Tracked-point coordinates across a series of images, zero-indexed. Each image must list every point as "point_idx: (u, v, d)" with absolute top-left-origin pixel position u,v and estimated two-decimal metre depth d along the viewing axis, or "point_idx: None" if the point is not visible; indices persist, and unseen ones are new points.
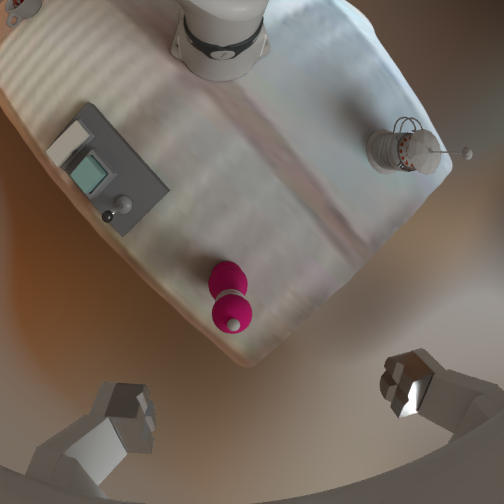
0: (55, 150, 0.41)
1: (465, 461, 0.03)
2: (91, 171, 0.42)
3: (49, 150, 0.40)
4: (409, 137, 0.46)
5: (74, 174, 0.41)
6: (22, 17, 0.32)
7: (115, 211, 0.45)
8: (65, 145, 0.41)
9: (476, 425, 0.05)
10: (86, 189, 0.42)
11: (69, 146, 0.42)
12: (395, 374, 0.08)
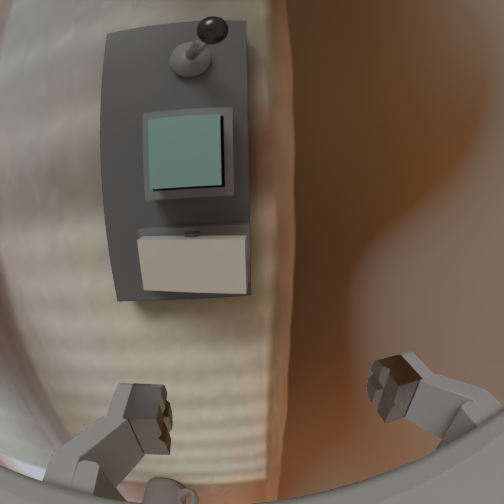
0: (223, 275, 0.21)
1: (465, 461, 0.03)
2: (164, 145, 0.16)
3: (235, 287, 0.21)
4: None
5: (208, 174, 0.17)
6: (177, 490, 0.35)
7: (196, 38, 0.15)
8: (194, 263, 0.21)
9: (464, 432, 0.05)
10: (209, 118, 0.16)
11: (187, 252, 0.21)
12: (381, 378, 0.08)
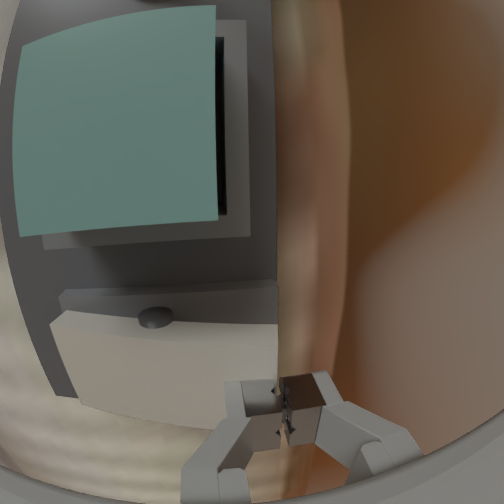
0: None
1: (465, 461, 0.03)
2: (48, 104, 0.04)
3: None
4: None
5: (175, 187, 0.05)
6: None
7: None
8: (164, 382, 0.09)
9: (363, 477, 0.05)
10: (181, 16, 0.04)
11: (147, 363, 0.08)
12: (284, 397, 0.08)
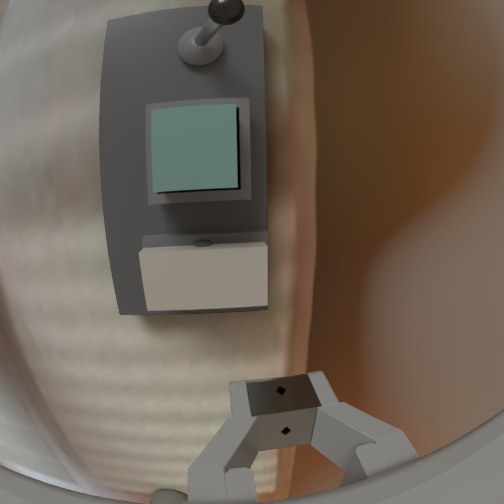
0: (243, 287, 0.19)
1: (465, 461, 0.03)
2: (170, 140, 0.14)
3: (255, 299, 0.19)
4: None
5: (222, 175, 0.15)
6: (183, 503, 0.32)
7: None
8: (209, 276, 0.18)
9: (357, 479, 0.05)
10: (223, 109, 0.14)
11: (201, 264, 0.18)
12: None
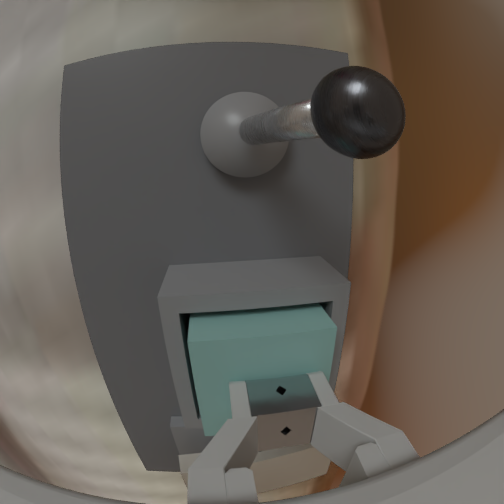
0: (305, 471, 0.13)
1: (465, 461, 0.03)
2: (227, 385, 0.08)
3: (315, 474, 0.13)
4: None
5: None
6: None
7: (289, 110, 0.07)
8: (270, 474, 0.12)
9: (358, 479, 0.05)
10: (316, 337, 0.08)
11: (262, 469, 0.12)
12: None
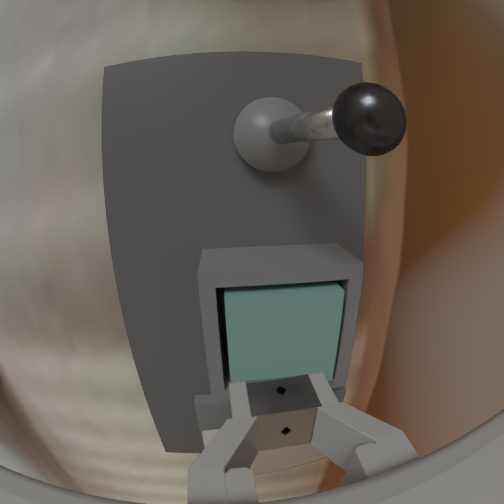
0: None
1: (465, 461, 0.03)
2: (254, 339, 0.11)
3: None
4: None
5: None
6: None
7: (313, 115, 0.08)
8: (287, 450, 0.13)
9: (357, 479, 0.05)
10: (327, 298, 0.11)
11: None
12: None
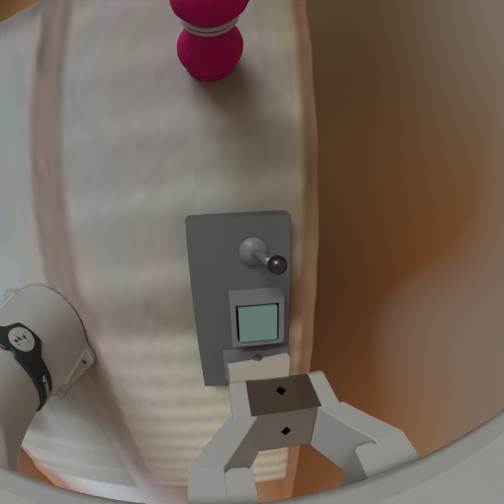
0: (278, 375, 0.37)
1: (465, 461, 0.03)
2: (248, 322, 0.33)
3: None
4: None
5: (270, 334, 0.34)
6: None
7: (264, 258, 0.31)
8: (263, 373, 0.36)
9: (357, 479, 0.05)
10: (271, 309, 0.33)
11: (259, 369, 0.36)
12: None
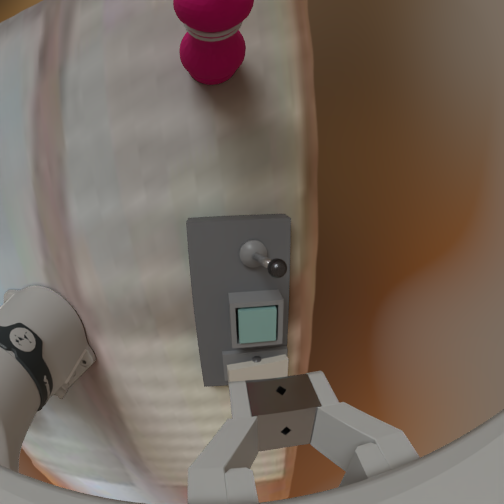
0: (276, 376, 0.37)
1: (465, 461, 0.03)
2: (247, 324, 0.34)
3: None
4: None
5: (269, 336, 0.35)
6: None
7: (264, 261, 0.31)
8: (262, 374, 0.36)
9: (358, 479, 0.05)
10: (271, 311, 0.34)
11: (258, 370, 0.36)
12: None
